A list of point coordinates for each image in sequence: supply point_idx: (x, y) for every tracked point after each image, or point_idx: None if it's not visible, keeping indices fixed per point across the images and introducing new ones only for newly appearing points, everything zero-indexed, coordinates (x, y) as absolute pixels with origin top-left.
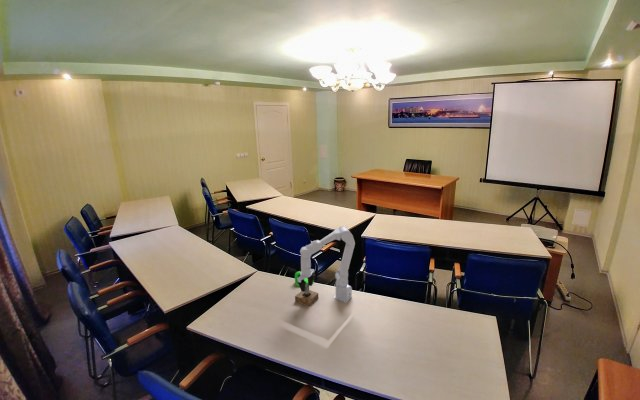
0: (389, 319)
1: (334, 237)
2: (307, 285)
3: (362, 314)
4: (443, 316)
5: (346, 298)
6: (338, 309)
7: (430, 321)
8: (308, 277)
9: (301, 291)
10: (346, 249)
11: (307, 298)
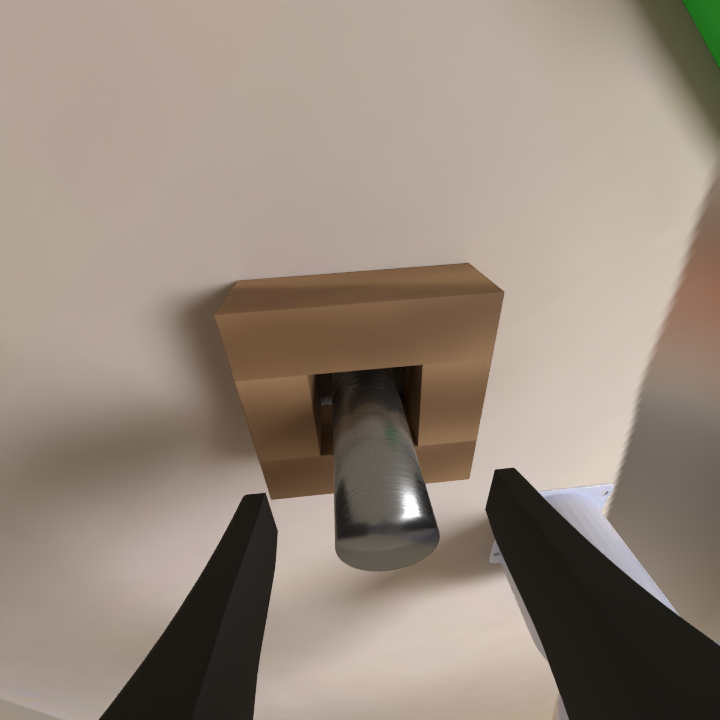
0: (437, 673)
1: None
2: (419, 539)
3: (415, 632)
4: (529, 708)
5: (509, 582)
6: (388, 571)
7: (487, 705)
8: (623, 688)
9: (394, 306)
10: None
11: (299, 466)
